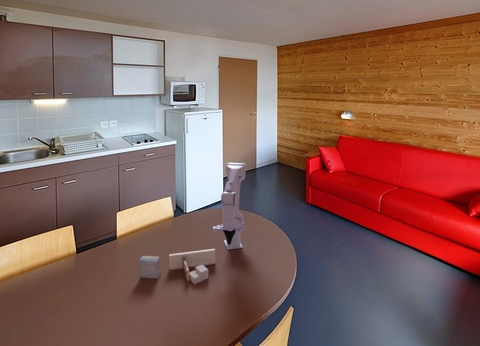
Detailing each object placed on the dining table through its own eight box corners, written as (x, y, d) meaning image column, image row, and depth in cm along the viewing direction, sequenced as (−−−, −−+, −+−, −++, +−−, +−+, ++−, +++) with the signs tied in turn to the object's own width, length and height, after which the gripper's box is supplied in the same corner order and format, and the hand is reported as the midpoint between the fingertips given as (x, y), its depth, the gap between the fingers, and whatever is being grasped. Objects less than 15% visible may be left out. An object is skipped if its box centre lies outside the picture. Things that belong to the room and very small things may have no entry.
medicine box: (161, 273, 138) (160, 256, 135) (157, 279, 133) (156, 261, 131) (144, 272, 138) (142, 255, 136) (140, 278, 134) (138, 260, 132)
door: (182, 270, 140) (182, 260, 138) (186, 269, 140) (185, 260, 139) (185, 281, 132) (185, 271, 131) (189, 280, 133) (188, 270, 131)
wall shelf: (169, 267, 142) (169, 254, 140) (214, 261, 147) (214, 248, 145) (170, 271, 139) (169, 257, 137) (215, 265, 144) (215, 251, 142)
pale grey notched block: (188, 278, 134) (188, 269, 133) (202, 273, 138) (202, 264, 137) (194, 284, 131) (194, 275, 129) (208, 278, 135) (208, 269, 133)
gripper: (214, 222, 135) (215, 249, 139) (246, 219, 138) (246, 245, 142) (212, 215, 141) (212, 242, 145) (242, 212, 145) (242, 238, 149)
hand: (228, 243), depth 144 cm, fingers closed
